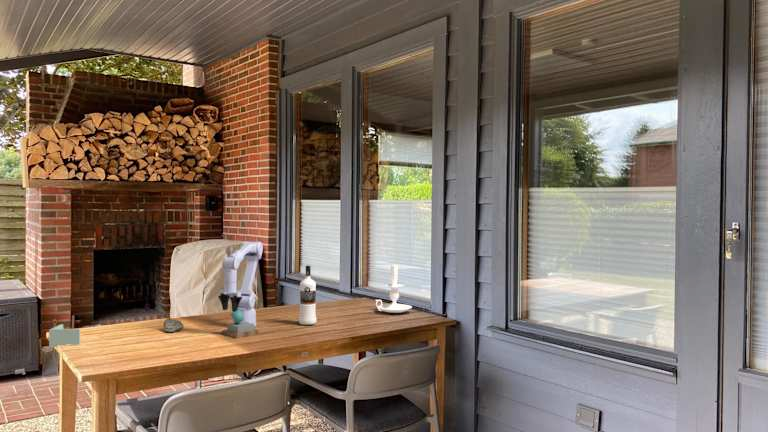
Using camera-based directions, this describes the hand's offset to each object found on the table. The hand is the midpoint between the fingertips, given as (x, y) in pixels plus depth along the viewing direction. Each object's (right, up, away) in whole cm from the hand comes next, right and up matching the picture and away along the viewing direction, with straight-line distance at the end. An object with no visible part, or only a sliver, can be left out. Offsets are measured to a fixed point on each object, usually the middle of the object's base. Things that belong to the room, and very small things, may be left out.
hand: (229, 310), depth 276 cm
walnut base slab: (+6, -12, -3) cm, 13 cm away
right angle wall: (-63, -11, -25) cm, 69 cm away
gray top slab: (+6, -9, -3) cm, 11 cm away
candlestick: (+78, -11, +57) cm, 97 cm away
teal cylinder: (+5, -5, -3) cm, 8 cm away
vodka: (+34, -11, +24) cm, 43 cm away
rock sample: (-29, -11, -3) cm, 31 cm away
